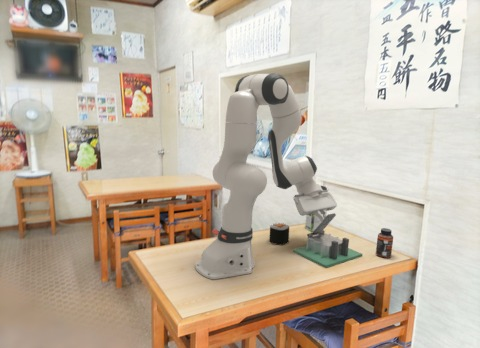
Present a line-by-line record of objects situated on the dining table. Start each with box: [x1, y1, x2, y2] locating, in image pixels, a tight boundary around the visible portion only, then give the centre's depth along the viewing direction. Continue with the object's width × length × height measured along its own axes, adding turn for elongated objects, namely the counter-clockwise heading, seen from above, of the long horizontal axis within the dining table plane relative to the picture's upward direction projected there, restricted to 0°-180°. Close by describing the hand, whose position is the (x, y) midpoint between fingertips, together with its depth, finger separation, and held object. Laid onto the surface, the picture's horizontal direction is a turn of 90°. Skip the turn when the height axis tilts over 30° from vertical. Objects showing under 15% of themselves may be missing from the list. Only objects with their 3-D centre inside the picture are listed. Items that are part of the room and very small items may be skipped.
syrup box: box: [304, 213, 323, 233], centre depth 171 cm, size 6×6×14 cm
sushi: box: [268, 222, 290, 246], centre depth 154 cm, size 8×8×8 cm
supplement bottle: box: [375, 227, 394, 259], centre depth 142 cm, size 6×6×11 cm
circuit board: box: [292, 245, 363, 269], centre depth 142 cm, size 22×18×1 cm
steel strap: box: [312, 213, 337, 235], centre depth 143 cm, size 4×13×1 cm
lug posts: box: [330, 237, 350, 260], centre depth 137 cm, size 8×2×7 cm, turn 124°
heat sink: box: [305, 229, 342, 258], centre depth 143 cm, size 14×13×6 cm
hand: (325, 220), depth 142 cm, fingers closed, pressing on steel strap
